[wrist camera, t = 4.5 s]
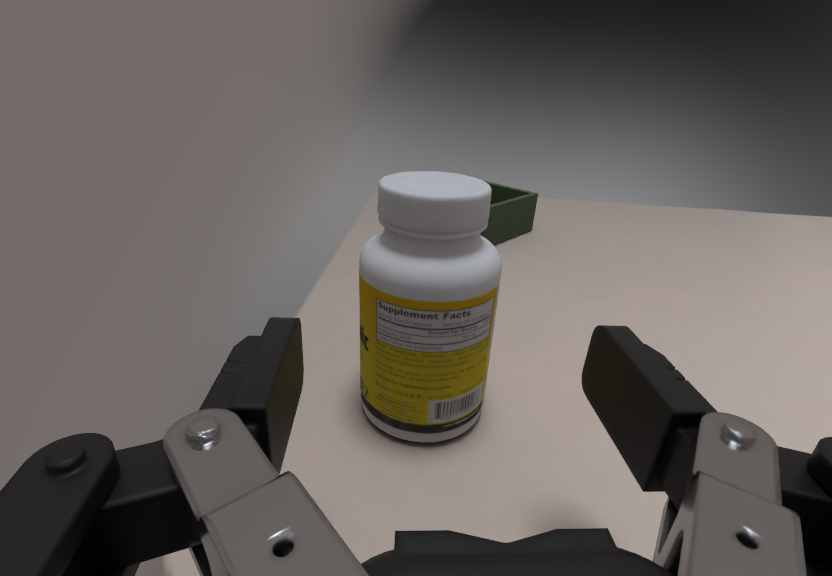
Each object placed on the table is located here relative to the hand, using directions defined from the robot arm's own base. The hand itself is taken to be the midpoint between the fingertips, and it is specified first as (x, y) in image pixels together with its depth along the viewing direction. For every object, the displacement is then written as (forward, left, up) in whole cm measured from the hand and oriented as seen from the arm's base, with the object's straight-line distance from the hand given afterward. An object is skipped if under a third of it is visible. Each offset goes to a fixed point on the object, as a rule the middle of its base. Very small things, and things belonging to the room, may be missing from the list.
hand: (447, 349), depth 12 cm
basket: (+20, +24, -7) cm, 32 cm away
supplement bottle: (+3, +5, -7) cm, 9 cm away
